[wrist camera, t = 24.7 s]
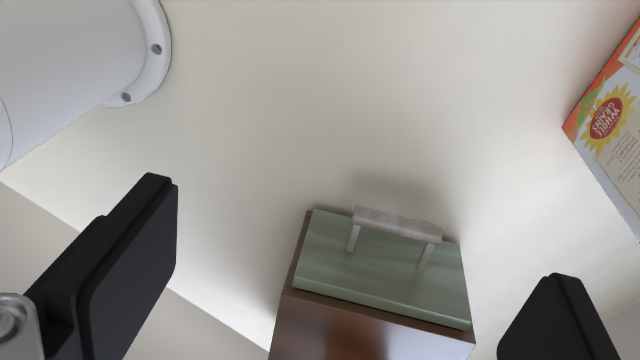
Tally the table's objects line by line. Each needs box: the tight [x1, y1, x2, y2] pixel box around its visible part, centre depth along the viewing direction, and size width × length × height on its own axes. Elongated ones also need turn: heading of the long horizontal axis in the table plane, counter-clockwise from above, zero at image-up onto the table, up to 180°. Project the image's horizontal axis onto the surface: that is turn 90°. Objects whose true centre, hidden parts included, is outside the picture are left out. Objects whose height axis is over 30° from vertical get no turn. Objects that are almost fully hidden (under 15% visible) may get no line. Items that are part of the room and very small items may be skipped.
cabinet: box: [268, 211, 476, 360], centre depth 42 cm, size 17×15×11 cm
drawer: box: [292, 206, 472, 331], centre depth 40 cm, size 20×14×9 cm
